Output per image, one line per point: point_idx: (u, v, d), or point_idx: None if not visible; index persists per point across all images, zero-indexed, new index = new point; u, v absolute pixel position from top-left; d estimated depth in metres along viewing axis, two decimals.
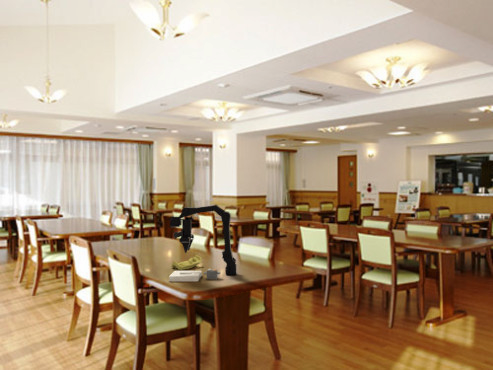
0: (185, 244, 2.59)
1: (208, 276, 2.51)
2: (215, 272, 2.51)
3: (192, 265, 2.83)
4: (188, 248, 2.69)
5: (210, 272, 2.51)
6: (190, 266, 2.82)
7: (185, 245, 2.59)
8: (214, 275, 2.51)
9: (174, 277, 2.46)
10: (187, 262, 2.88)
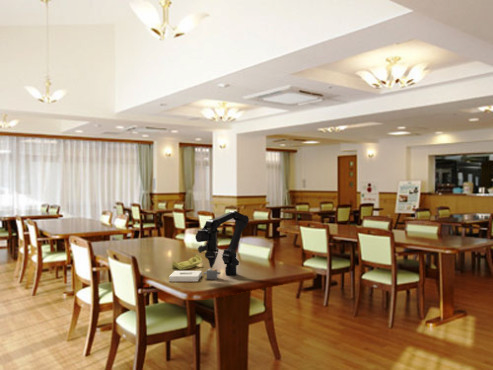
0: (211, 259, 2.47)
1: (208, 276, 2.51)
2: (215, 272, 2.51)
3: (192, 265, 2.83)
4: None
5: (210, 272, 2.51)
6: (190, 266, 2.82)
7: (211, 260, 2.47)
8: (214, 275, 2.51)
9: (174, 277, 2.46)
10: (187, 262, 2.88)
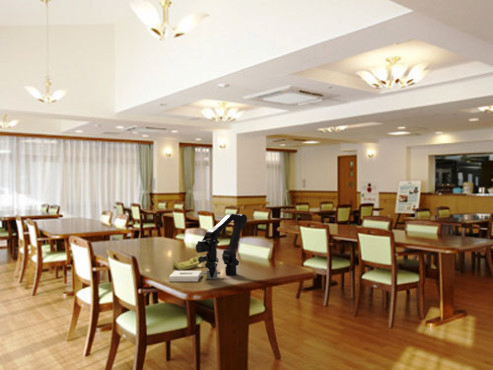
0: (211, 269, 2.50)
1: (208, 276, 2.51)
2: (215, 272, 2.51)
3: (192, 265, 2.83)
4: None
5: None
6: (190, 266, 2.82)
7: (211, 270, 2.50)
8: (214, 275, 2.51)
9: (174, 277, 2.46)
10: (188, 262, 2.88)
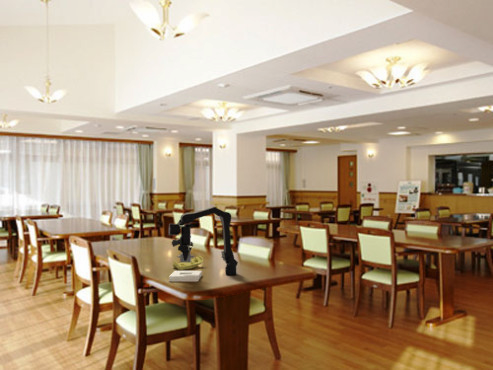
0: (185, 252, 2.50)
1: (182, 259, 2.51)
2: (189, 255, 2.51)
3: (193, 265, 2.82)
4: None
5: None
6: (190, 266, 2.81)
7: (185, 253, 2.50)
8: (188, 258, 2.51)
9: (174, 277, 2.46)
10: (189, 262, 2.87)
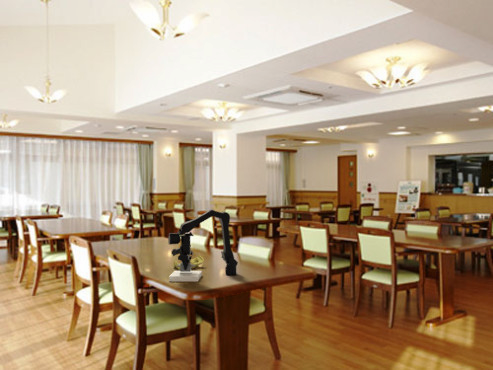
0: (185, 261, 2.50)
1: (182, 268, 2.52)
2: (189, 264, 2.51)
3: None
4: None
5: None
6: None
7: (185, 262, 2.50)
8: (188, 267, 2.51)
9: (174, 277, 2.46)
10: None
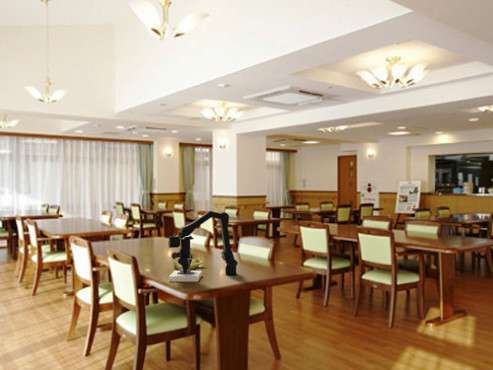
0: (184, 265, 2.49)
1: None
2: (189, 272, 2.51)
3: (193, 266, 2.81)
4: None
5: None
6: (190, 267, 2.80)
7: (184, 266, 2.49)
8: None
9: (174, 277, 2.46)
10: None
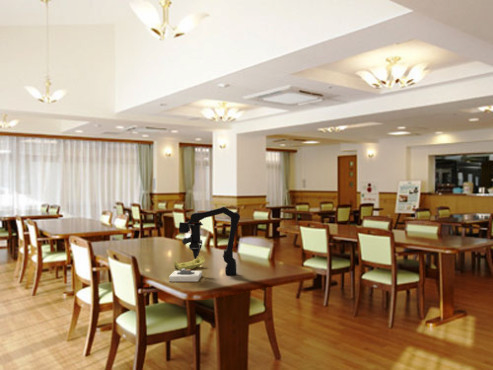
0: (195, 250, 2.56)
1: None
2: (189, 272, 2.51)
3: (193, 266, 2.80)
4: None
5: (184, 272, 2.51)
6: (190, 267, 2.80)
7: (195, 251, 2.56)
8: None
9: (174, 277, 2.46)
10: (190, 263, 2.86)
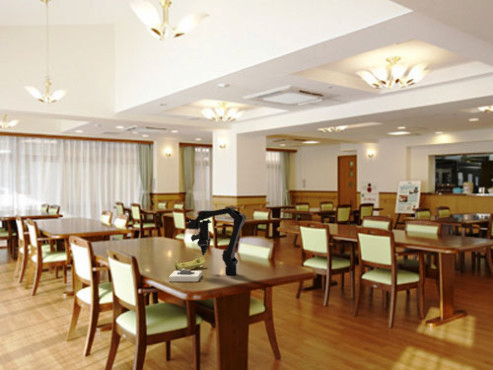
0: (203, 247, 2.64)
1: None
2: (189, 272, 2.51)
3: (193, 266, 2.80)
4: (205, 250, 2.75)
5: (184, 272, 2.51)
6: (190, 267, 2.79)
7: (203, 248, 2.64)
8: None
9: (174, 277, 2.46)
10: (190, 263, 2.85)
